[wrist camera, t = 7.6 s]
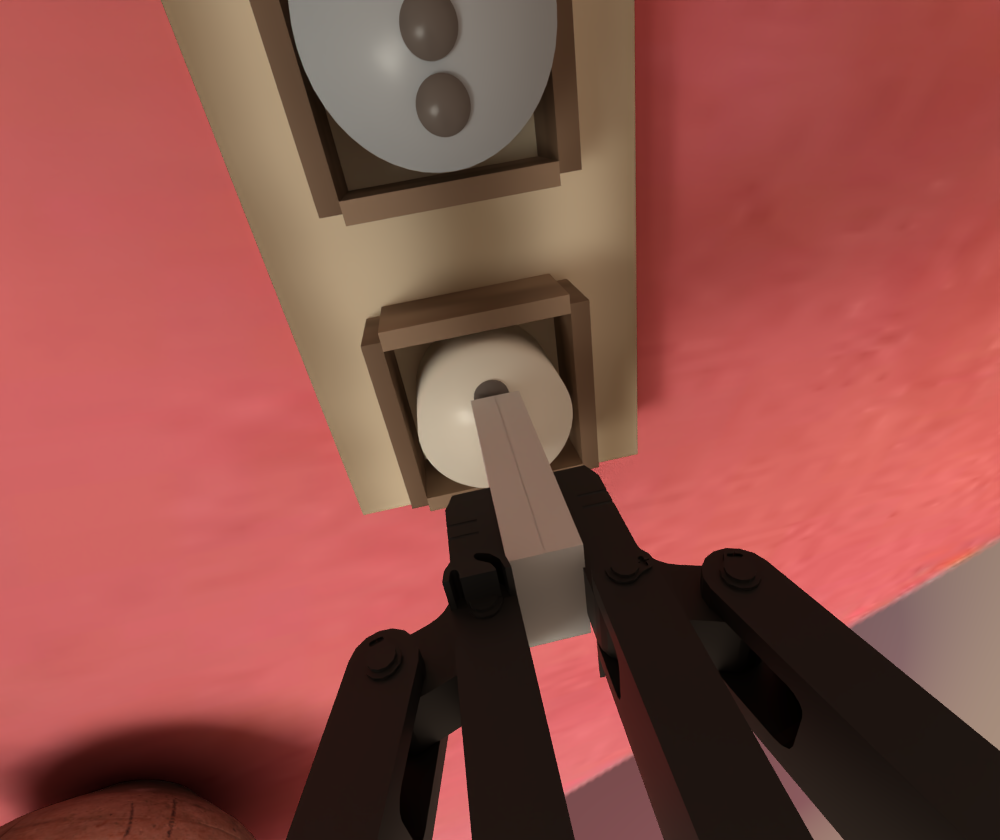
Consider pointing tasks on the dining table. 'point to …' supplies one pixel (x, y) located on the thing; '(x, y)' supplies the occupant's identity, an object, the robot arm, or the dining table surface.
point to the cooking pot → (129, 816)
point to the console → (435, 236)
